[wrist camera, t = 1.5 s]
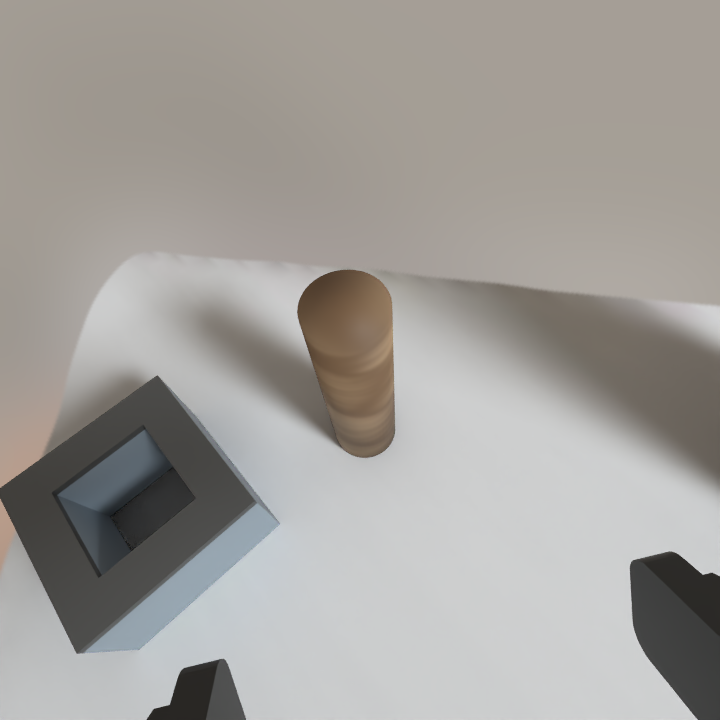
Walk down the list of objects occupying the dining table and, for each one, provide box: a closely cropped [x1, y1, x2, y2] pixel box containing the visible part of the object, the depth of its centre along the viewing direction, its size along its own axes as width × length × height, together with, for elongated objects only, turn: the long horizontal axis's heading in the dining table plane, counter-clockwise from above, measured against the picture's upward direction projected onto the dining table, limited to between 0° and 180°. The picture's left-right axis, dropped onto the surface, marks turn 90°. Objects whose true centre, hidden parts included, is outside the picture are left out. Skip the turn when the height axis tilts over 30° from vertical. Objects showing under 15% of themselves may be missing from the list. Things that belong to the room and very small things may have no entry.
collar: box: [0, 376, 280, 654], centre depth 28 cm, size 10×10×6 cm
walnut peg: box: [297, 270, 395, 458], centre depth 26 cm, size 4×4×14 cm
